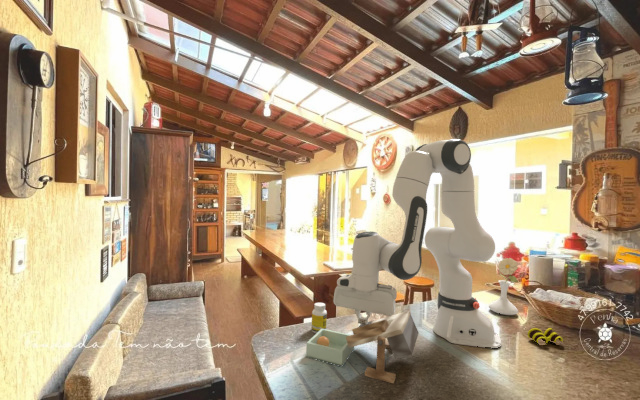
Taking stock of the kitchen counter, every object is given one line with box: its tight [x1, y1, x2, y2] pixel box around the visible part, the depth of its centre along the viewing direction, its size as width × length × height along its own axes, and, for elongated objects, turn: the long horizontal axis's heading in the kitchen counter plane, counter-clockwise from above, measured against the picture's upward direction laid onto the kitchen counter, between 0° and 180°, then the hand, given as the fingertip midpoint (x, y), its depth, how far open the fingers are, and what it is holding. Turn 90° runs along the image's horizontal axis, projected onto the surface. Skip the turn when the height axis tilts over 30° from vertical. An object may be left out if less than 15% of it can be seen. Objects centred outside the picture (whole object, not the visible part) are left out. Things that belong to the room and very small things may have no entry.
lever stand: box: [364, 313, 397, 384], centre depth 97 cm, size 8×22×11 cm, turn 156°
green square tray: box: [305, 328, 355, 367], centre depth 100 cm, size 12×12×4 cm
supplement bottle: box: [310, 302, 328, 334], centre depth 116 cm, size 5×5×10 cm
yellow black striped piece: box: [527, 327, 564, 344], centre depth 112 cm, size 10×5×5 cm, turn 96°
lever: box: [346, 310, 419, 359], centre depth 97 cm, size 17×16×9 cm
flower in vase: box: [488, 257, 519, 316], centre depth 140 cm, size 13×11×25 cm
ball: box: [317, 336, 329, 347], centre depth 101 cm, size 4×4×4 cm
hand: (363, 323), depth 104 cm, fingers closed
